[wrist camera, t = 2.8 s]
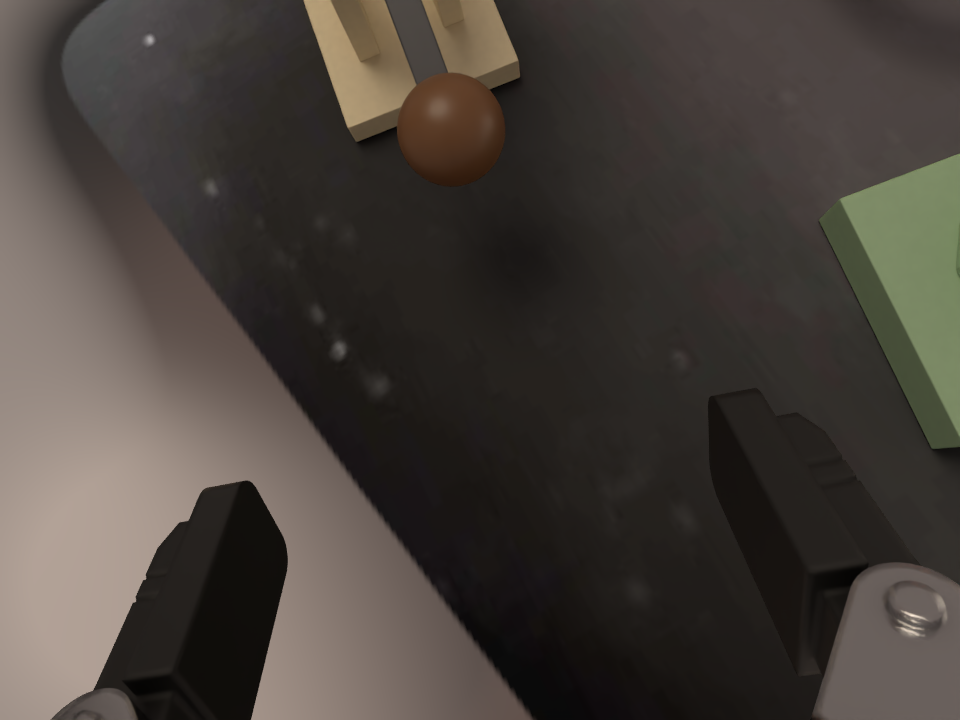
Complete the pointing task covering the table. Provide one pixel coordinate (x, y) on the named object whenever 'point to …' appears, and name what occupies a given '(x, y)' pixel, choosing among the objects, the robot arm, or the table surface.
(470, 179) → the lever
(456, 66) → the switch bracket
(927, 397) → the control block
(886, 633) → the robot arm
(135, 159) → the table surface
